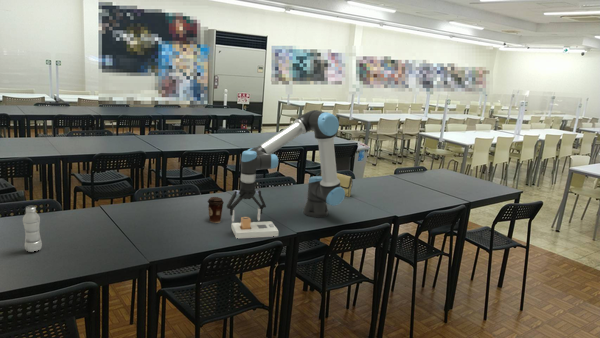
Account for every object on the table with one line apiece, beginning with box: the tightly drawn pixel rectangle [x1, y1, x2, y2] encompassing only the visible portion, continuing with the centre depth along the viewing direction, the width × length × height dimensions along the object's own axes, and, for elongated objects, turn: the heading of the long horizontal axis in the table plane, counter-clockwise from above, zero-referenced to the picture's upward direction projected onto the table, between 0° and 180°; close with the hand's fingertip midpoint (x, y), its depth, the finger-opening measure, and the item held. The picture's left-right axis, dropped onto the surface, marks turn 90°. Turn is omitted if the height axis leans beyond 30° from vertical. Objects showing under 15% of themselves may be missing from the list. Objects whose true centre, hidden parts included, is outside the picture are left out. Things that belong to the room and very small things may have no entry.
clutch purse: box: [317, 171, 353, 198], centre depth 312 cm, size 30×7×15 cm, turn 50°
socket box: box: [230, 221, 279, 239], centre depth 230 cm, size 22×14×4 cm, turn 109°
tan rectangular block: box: [240, 216, 252, 230], centre depth 228 cm, size 4×4×8 cm
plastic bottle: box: [22, 205, 43, 253], centre depth 188 cm, size 6×7×20 cm
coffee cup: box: [207, 196, 224, 224], centre depth 241 cm, size 9×8×13 cm
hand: (245, 220), depth 228 cm, fingers open, 13 cm apart
